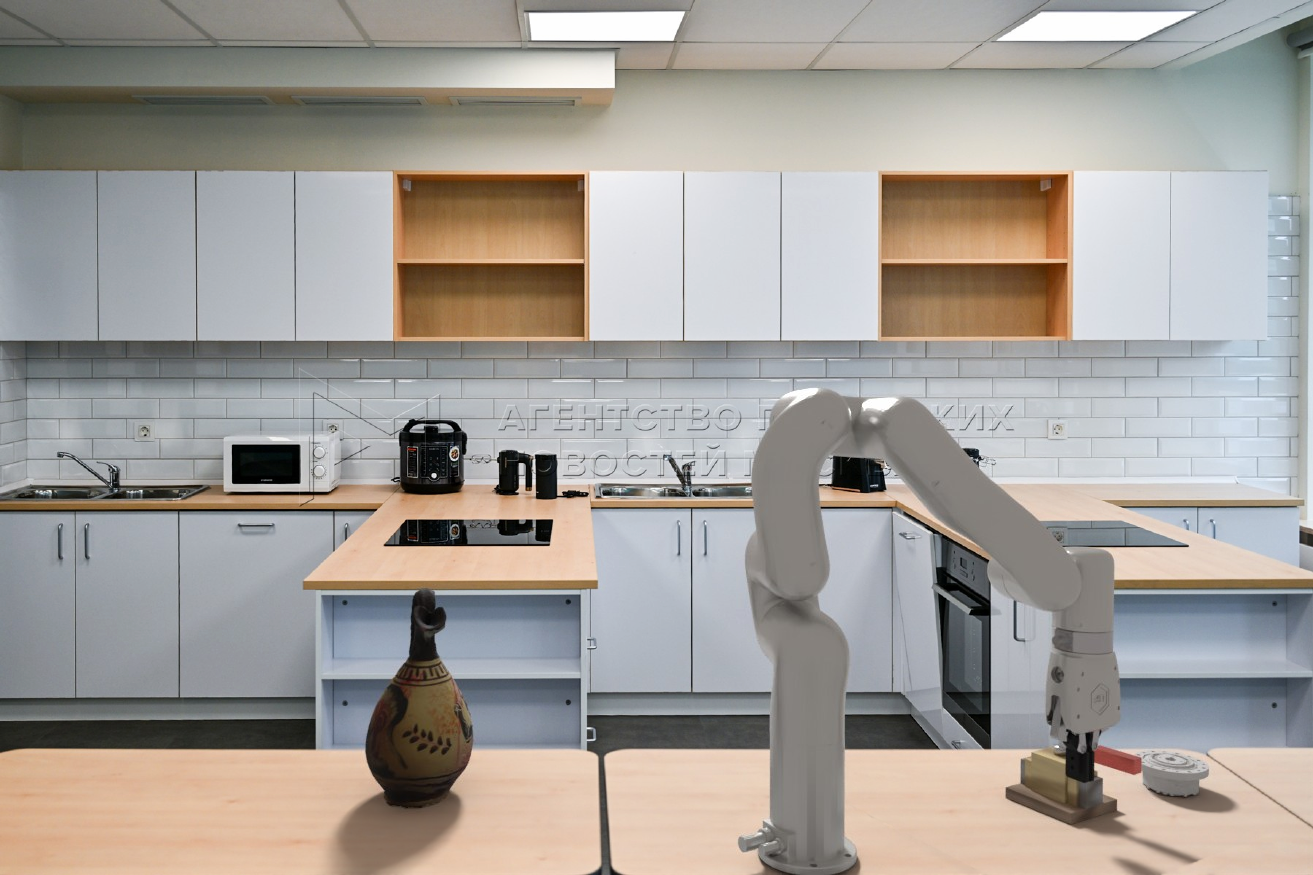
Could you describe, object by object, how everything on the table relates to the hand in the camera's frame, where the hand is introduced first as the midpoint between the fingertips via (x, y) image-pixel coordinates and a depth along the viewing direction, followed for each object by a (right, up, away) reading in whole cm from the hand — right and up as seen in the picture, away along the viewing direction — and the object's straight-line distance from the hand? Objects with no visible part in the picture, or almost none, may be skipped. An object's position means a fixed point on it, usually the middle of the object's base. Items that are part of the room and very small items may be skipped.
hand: (1079, 778), depth 129 cm
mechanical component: (+25, -5, +13) cm, 29 cm away
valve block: (+2, -7, +11) cm, 13 cm away
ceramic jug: (-91, -8, +15) cm, 93 cm away
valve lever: (+5, 0, +6) cm, 8 cm away
